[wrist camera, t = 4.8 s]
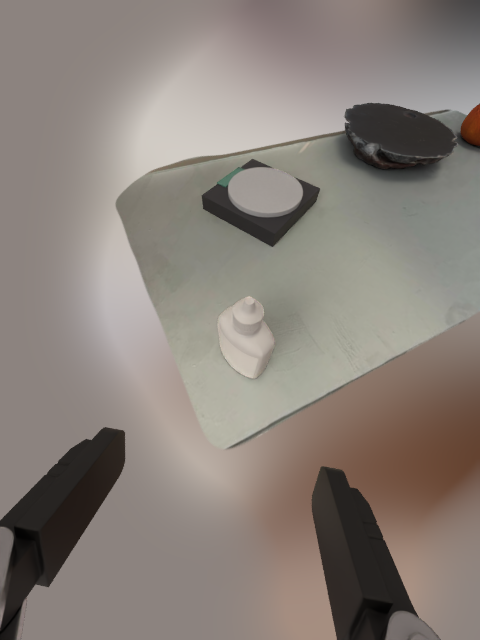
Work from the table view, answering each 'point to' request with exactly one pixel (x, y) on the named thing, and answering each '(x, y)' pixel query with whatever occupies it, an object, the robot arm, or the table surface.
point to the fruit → (472, 127)
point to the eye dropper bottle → (245, 337)
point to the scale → (260, 200)
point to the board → (397, 136)
